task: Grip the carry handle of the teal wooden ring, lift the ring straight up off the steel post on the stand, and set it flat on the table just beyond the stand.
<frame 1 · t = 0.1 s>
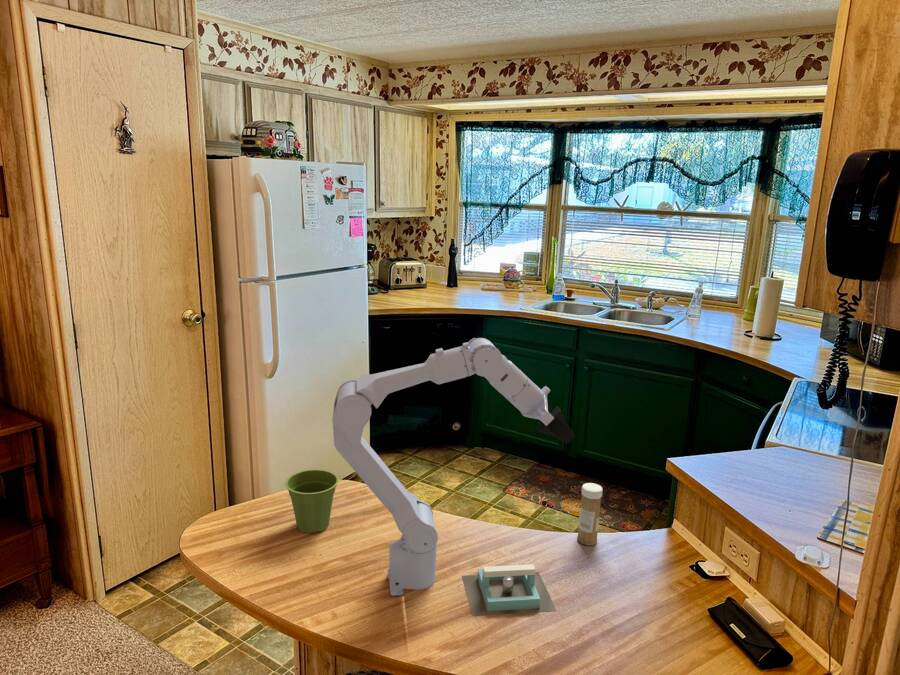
hand: (564, 431, 119), 32 cm above the countertop, tool tilted 50°, fingers open, 7 cm apart
sprinkles bottle: (586, 541, 141), on the countertop
post stand: (507, 597, 120), on the countertop
teal ring: (507, 592, 119), point 1 cm above the countertop, touching post stand
plant pot: (312, 526, 142), on the countertop
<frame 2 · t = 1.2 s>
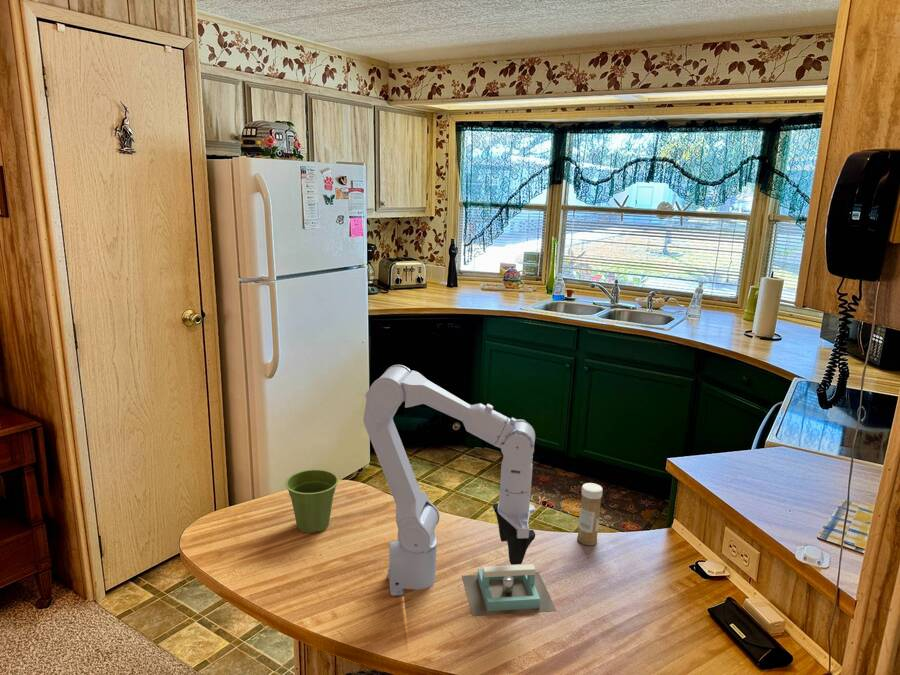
hand: (510, 551, 117), 10 cm above the countertop, tool pointing down, fingers open, 7 cm apart
nothing on the countertop moved.
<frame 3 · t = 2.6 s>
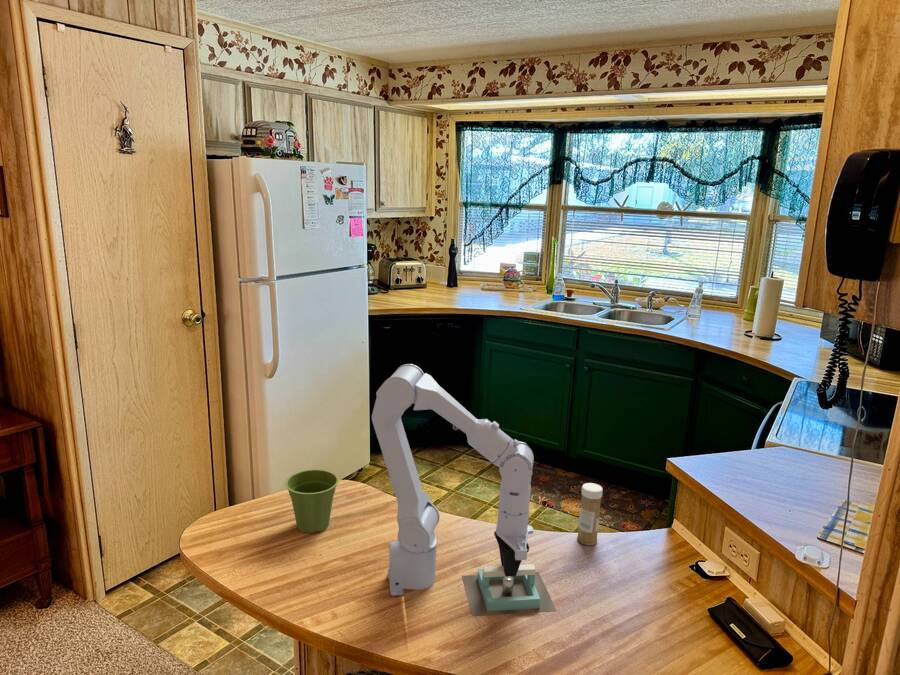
hand: (508, 571, 118), 6 cm above the countertop, tool pointing down, fingers closed on teal ring
teal ring: (507, 592, 119), point 1 cm above the countertop, touching gripper, post stand
everything else where it was.
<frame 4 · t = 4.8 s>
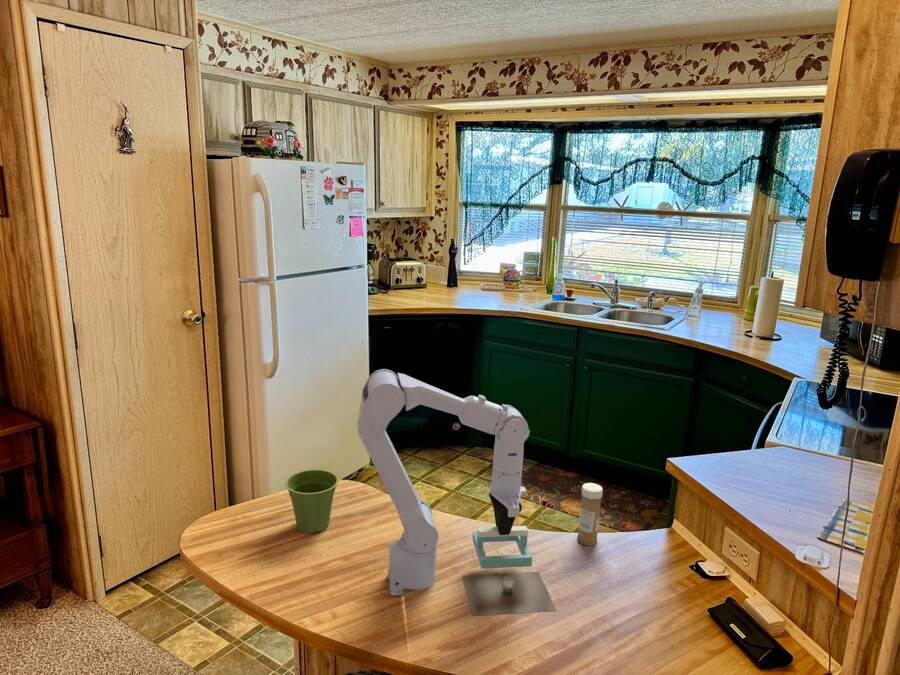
hand: (502, 531, 123), 10 cm above the countertop, tool pointing down, fingers closed on teal ring
teal ring: (501, 552, 125), point 6 cm above the countertop, touching gripper
everything else where it was.
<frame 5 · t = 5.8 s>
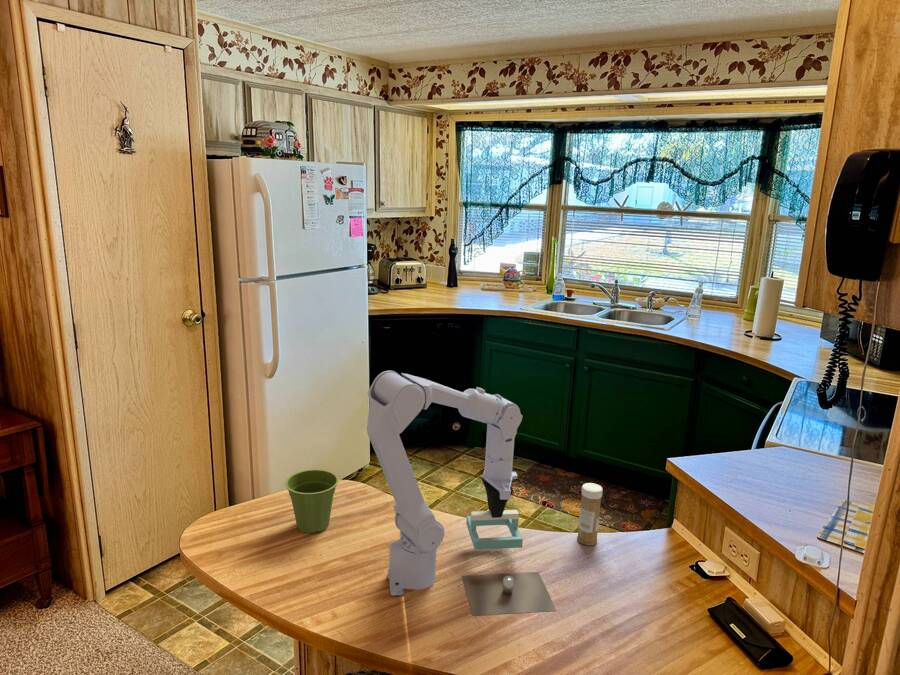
hand: (495, 514, 130), 10 cm above the countertop, tool pointing down, fingers closed on teal ring
teal ring: (493, 535, 131), point 5 cm above the countertop, touching gripper
everything else where it was.
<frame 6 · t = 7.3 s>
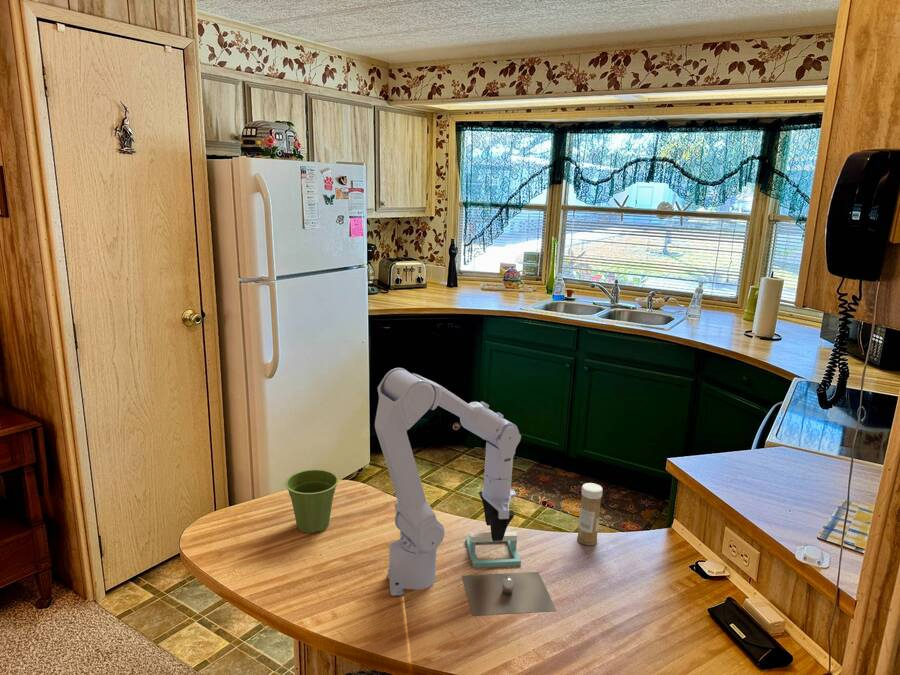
hand: (494, 532, 131), 6 cm above the countertop, tool pointing down, fingers open, 5 cm apart
teal ring: (492, 556, 133), on the countertop
everything else where it was.
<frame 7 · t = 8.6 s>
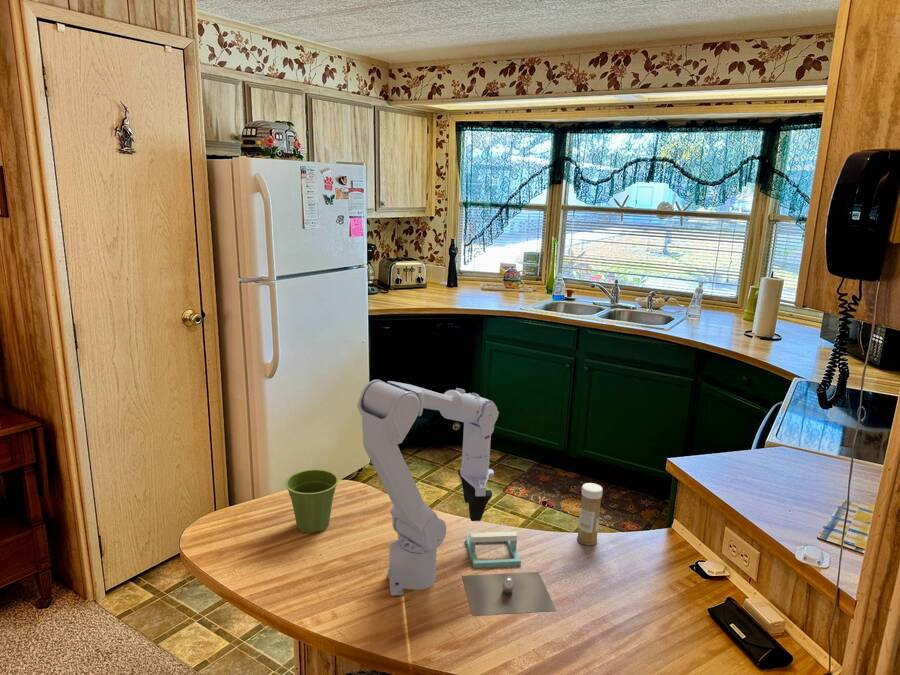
hand: (472, 510, 132), 10 cm above the countertop, tool pointing down, fingers open, 7 cm apart
nothing on the countertop moved.
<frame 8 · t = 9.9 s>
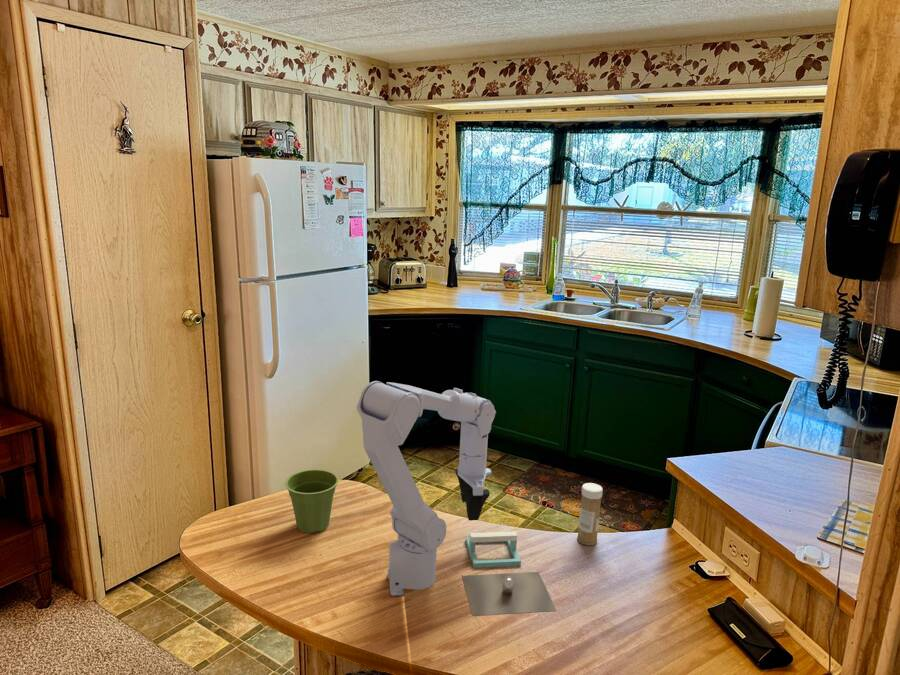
hand: (469, 510, 132), 10 cm above the countertop, tool pointing down, fingers open, 7 cm apart
nothing on the countertop moved.
at the end: teal ring inside the target area (0.5 cm from its centre), on the countertop; teal ring tilted 0°; the gripper is holding nothing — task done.
